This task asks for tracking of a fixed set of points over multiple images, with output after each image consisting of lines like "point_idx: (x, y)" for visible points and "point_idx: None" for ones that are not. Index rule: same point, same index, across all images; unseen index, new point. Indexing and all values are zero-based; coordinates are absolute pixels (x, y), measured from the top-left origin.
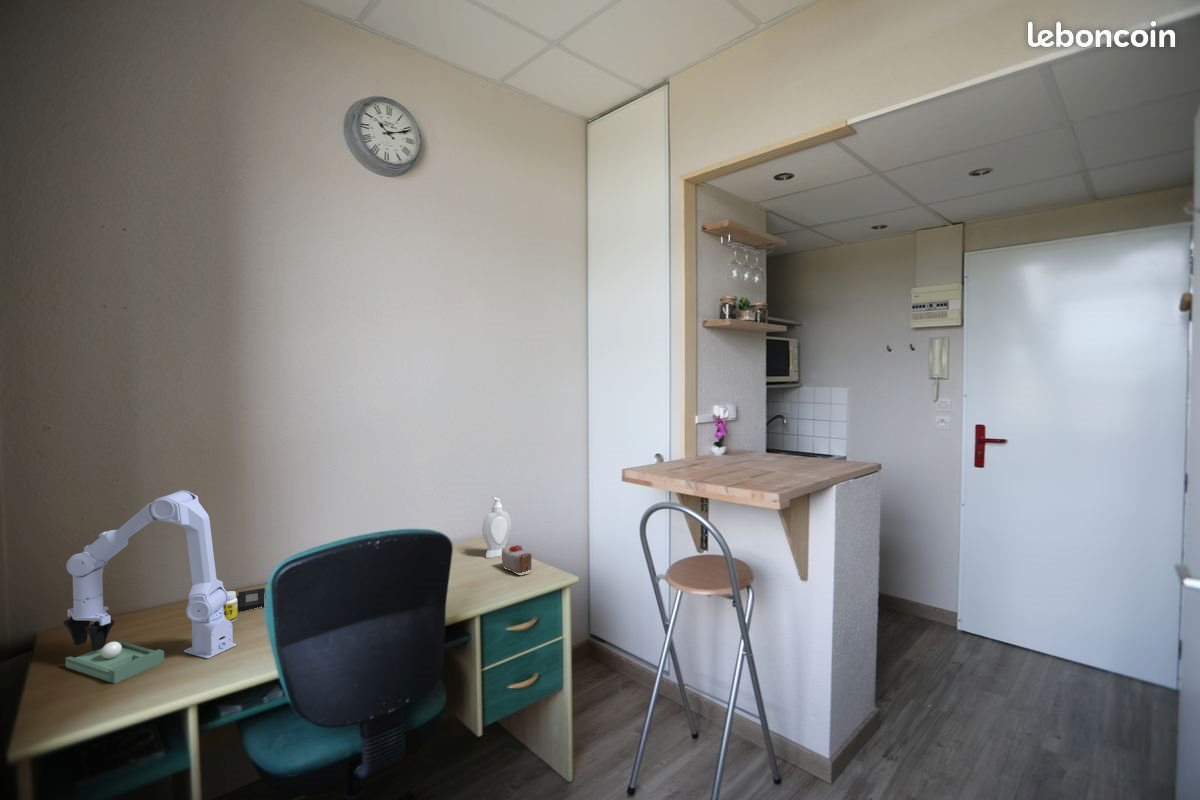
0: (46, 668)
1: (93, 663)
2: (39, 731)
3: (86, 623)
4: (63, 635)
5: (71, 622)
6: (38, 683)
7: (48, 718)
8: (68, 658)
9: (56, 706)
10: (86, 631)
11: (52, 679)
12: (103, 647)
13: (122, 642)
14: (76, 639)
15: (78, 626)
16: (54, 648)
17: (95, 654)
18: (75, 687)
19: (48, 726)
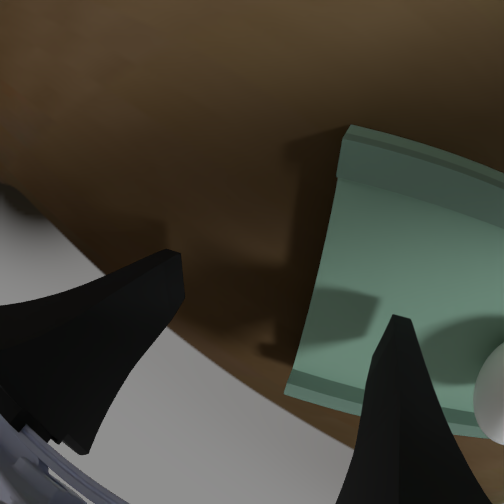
0: (230, 358)
1: (456, 395)
2: (494, 495)
3: (69, 347)
4: (2, 128)
5: (75, 442)
6: (326, 429)
7: (487, 486)
8: (302, 396)
9: (478, 474)
10: (122, 298)
11: (349, 418)
12: (492, 439)
13: (476, 198)
14: (159, 327)
15: (91, 382)
16: (67, 212)
17: (383, 327)
18: (473, 440)
19: (501, 491)
